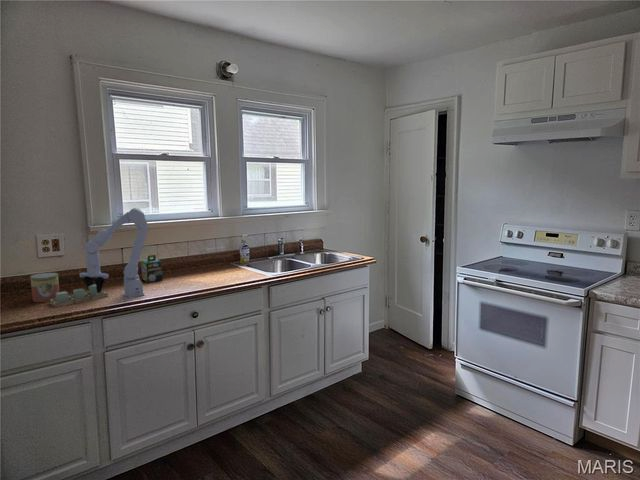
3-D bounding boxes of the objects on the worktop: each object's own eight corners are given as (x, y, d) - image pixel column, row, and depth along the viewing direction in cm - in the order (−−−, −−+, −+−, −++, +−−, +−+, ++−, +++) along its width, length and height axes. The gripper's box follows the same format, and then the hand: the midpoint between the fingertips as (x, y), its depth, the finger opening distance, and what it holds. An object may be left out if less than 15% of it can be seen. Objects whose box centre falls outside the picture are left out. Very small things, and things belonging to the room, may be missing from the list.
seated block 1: (69, 303, 195) (68, 292, 194) (59, 305, 192) (58, 294, 191) (66, 301, 197) (65, 291, 196) (56, 303, 194) (55, 293, 193)
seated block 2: (85, 299, 200) (85, 289, 199) (76, 301, 197) (75, 291, 196) (82, 298, 203) (81, 288, 202) (73, 299, 200) (72, 289, 199)
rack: (107, 297, 206) (107, 293, 205) (56, 307, 189) (55, 302, 188) (100, 294, 211) (100, 290, 211) (50, 303, 194) (49, 299, 194)
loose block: (101, 294, 207) (101, 284, 206) (96, 296, 203) (95, 286, 202) (94, 293, 207) (94, 284, 207) (89, 296, 204) (88, 286, 203)
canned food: (32, 304, 194) (30, 279, 192) (32, 298, 203) (29, 274, 201) (61, 300, 200) (59, 276, 198) (59, 294, 209) (57, 271, 207)
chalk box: (157, 277, 248) (156, 253, 246) (163, 280, 242) (162, 255, 239) (141, 279, 242) (140, 254, 240) (147, 282, 235) (145, 257, 233)
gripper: (112, 263, 206) (113, 290, 208) (86, 262, 208) (88, 288, 210) (102, 266, 199) (104, 294, 201) (75, 265, 201) (77, 292, 203)
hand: (95, 291), depth 205 cm, fingers closed on loose block, 4 cm apart
